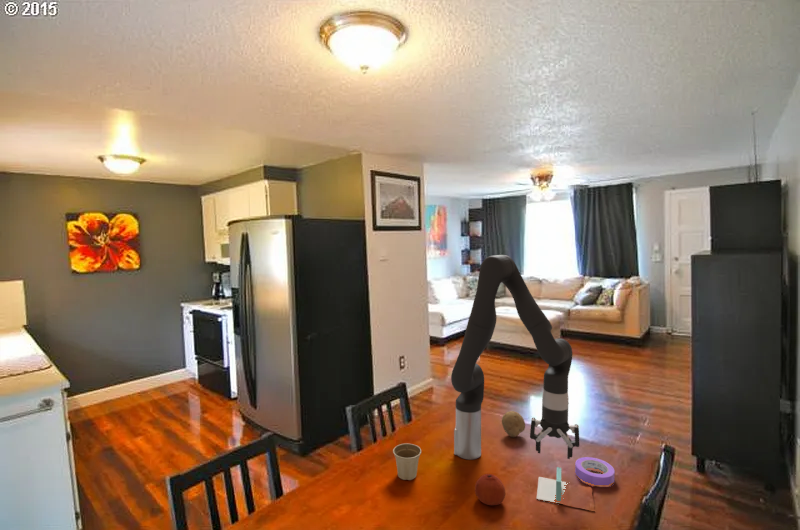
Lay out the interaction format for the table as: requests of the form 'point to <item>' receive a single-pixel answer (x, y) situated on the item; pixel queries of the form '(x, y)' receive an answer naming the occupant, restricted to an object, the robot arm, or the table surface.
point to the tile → (558, 484)
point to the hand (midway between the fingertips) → (553, 454)
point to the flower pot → (407, 460)
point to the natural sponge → (513, 423)
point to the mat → (548, 489)
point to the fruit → (490, 490)
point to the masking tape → (591, 477)
